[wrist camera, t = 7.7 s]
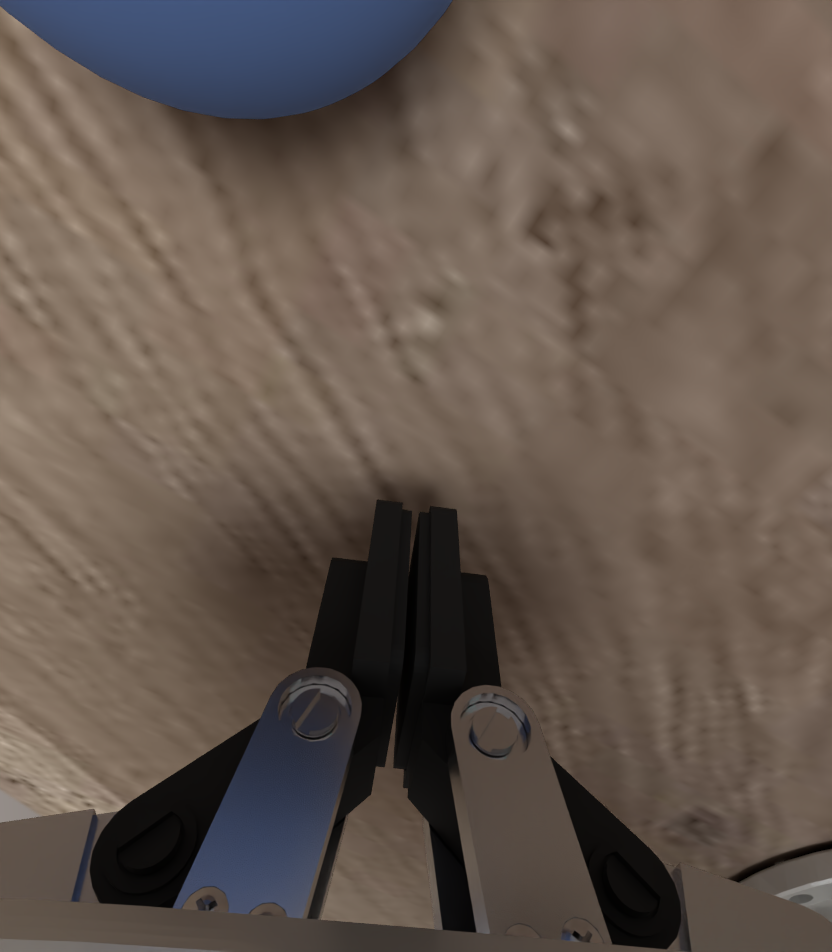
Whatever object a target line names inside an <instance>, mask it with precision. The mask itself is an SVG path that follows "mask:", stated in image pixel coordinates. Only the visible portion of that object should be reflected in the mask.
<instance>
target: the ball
mask: <svg viewBox="0 0 832 952" xmlns="http://www.w3.org/2000/svg"><path fill="white" fill-rule="evenodd" d="M451 2H452V0H0V6H1V7H2V8H3V9H4V10H5V11H7V12H8V13H9V14H10V15H12V16H13V17H14V18H16V19H17V20H18V21H19V22H21V23H22V24H23V25H25V26H26V27H27V28H29V29H30V30H31V31H33V32H34V33H35V34H37V35H38V36H39V37H41V38H42V39H43V40H44V41H46V42H47V43H48V44H50V45H51V46H52V47H54V48H55V49H56V50H58V51H60V52H61V53H63V54H64V55H66V56H68V57H69V58H71V59H73V60H74V61H76V62H77V63H79V64H81V65H82V66H84V67H86V68H87V69H89V70H90V71H92V72H94V73H95V74H97V75H99V76H100V77H102V78H104V79H106V80H108V81H110V82H112V83H115V84H117V85H119V86H121V87H123V88H125V89H127V90H129V91H131V92H134V93H136V94H138V95H140V96H142V97H144V98H147V99H150V100H153V101H156V102H159V103H162V104H165V105H168V106H171V107H174V108H177V109H180V110H184V111H189V112H194V113H200V114H205V115H210V116H216V117H221V118H237V119H269V118H276V117H283V116H289V115H295V114H301V113H306V112H310V111H313V110H316V109H319V108H322V107H325V106H328V105H330V104H333V103H335V102H337V101H339V100H342V99H344V98H346V97H348V96H350V95H352V94H354V93H356V92H358V91H360V90H361V89H363V88H365V87H366V86H368V85H370V84H371V83H373V82H374V81H376V80H377V79H378V78H380V77H381V76H382V75H384V74H385V73H386V72H387V71H389V70H390V69H391V68H392V67H393V66H394V65H396V64H397V63H398V62H399V61H400V60H402V59H403V58H404V57H405V56H406V55H407V54H409V53H410V52H411V51H412V50H413V49H414V48H415V47H416V46H417V45H418V43H419V42H420V41H421V40H422V39H423V38H424V36H425V35H426V34H427V33H428V32H429V31H430V29H431V28H432V27H433V26H434V25H435V24H436V22H437V21H438V20H439V19H440V18H441V17H442V15H443V14H444V13H445V11H446V10H447V8H448V7H449V5H450V4H451Z"/></svg>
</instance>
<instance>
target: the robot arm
mask: <svg viewBox="0 0 832 952" xmlns="http://www.w3.org/2000/svg"><path fill="white" fill-rule="evenodd" d="M411 519H412V511H409V510H402V503H400V502H392V501H384V500H377V503H376V510H375V517H374V524H373V530H372V537H371V544H370V551H369V557H368V562H366V561H357V560H349V559H340V558H332V560H331V564H330V567H329V572H328V576H327V580H326V585H325V589H324V593H323V597H322V602H321V606H320V610H319V615H318V619H317V623H316V627H315V632H314V636H313V640H312V645H311V649H310V653H309V657H308V662H307V666H306V669H302V670H300V671H297V672H295V673H293V674H291V675H289V676H288V677H286V678H285V679H284V680H283V681H282V682H280V683H279V684H278V686H277V687H276V689H275V690H274V692H273V693H272V695H271V696H270V699H269V701H268V703H267V705H266V707H265V709H264V712H263V714H262V716H261V718H260V719H259V720H257V721H255V722H254V723H252V724H251V725H249V726H248V727H246V728H245V729H243V730H241V731H240V732H238V733H237V734H235V735H234V736H232V737H231V738H229V739H227V740H226V741H224V742H223V743H221V744H220V745H218V746H217V747H215V748H213V749H212V750H210V751H209V752H207V753H206V754H204V755H203V756H201V757H199V758H198V759H196V760H195V761H193V762H192V763H190V764H189V765H187V766H185V767H184V768H182V769H181V770H179V771H178V772H176V773H175V774H173V775H171V776H170V777H168V778H167V779H165V780H164V781H162V782H161V783H159V784H157V785H156V786H154V787H153V788H151V789H150V790H148V791H147V792H145V793H143V794H142V795H140V796H139V797H137V798H136V799H134V800H133V801H131V802H130V803H129V804H127V805H126V806H125V807H124V808H122V809H121V810H120V811H118V812H111V813H105V814H98V815H96V813H95V810H94V809H90V810H83V811H76V812H70V813H63V814H56V815H49V816H43V817H36V818H29V819H22V820H16V821H9V822H2V823H0V952H832V849H829V850H824V851H819V852H815V853H811V854H808V855H804V856H801V857H797V858H794V859H791V860H787V861H784V862H781V863H779V864H776V865H774V866H771V867H769V868H766V869H764V870H761V871H759V872H757V873H755V874H753V875H751V876H749V877H748V878H746V879H744V880H742V881H740V882H738V883H737V882H735V881H732V880H729V879H726V878H723V877H720V876H717V875H715V874H712V873H709V872H706V871H703V870H700V869H697V868H695V867H692V866H689V865H686V864H683V863H679V864H678V865H677V866H676V867H673V866H670V865H668V864H665V863H662V862H661V861H660V859H659V858H658V857H657V856H656V855H655V854H654V853H653V852H652V850H651V849H650V848H649V847H648V846H646V845H645V844H644V843H643V842H642V841H641V840H640V839H639V838H638V837H637V836H636V835H635V834H633V833H632V832H631V831H630V830H629V829H628V828H627V827H626V826H625V825H624V824H623V823H622V822H621V821H619V820H618V819H617V818H616V817H615V816H614V815H613V814H612V813H611V812H610V811H609V810H608V809H607V808H605V807H604V806H603V805H602V804H601V803H600V802H599V801H598V800H597V799H596V798H595V797H594V796H593V795H591V794H590V793H589V792H588V791H587V790H586V789H585V788H584V787H583V786H582V785H581V784H580V783H578V782H577V781H576V780H575V779H574V778H573V777H572V776H571V775H570V774H569V773H568V772H567V771H566V770H564V769H563V768H562V767H561V766H560V765H559V764H558V763H557V762H556V761H555V760H554V759H553V758H552V757H550V755H549V752H548V749H547V746H546V743H545V740H544V736H543V733H542V730H541V727H540V724H539V722H538V720H537V718H536V716H535V714H534V712H533V710H532V709H531V708H530V707H529V706H528V704H527V703H526V702H525V701H524V700H523V699H522V698H520V697H519V696H517V695H516V694H515V693H513V692H512V691H509V690H507V689H504V688H501V681H500V673H499V665H498V657H497V649H496V641H495V632H494V624H493V616H492V608H491V600H490V591H489V584H488V579H487V577H486V575H478V574H469V573H461V571H460V555H459V539H458V523H457V510H456V509H449V508H441V507H433V506H431V507H430V509H429V513H425V512H420V513H419V517H418V523H417V529H416V535H415V541H414V547H413V553H412V559H411V565H410V571H409V556H410V537H411ZM408 575H409V577H408ZM397 696H398V698H397ZM396 702H397V714H396V731H395V747H394V768H398V769H404V782H403V788H408V798H409V800H410V801H411V802H412V803H413V804H414V806H415V807H416V808H417V809H418V810H419V812H420V813H421V814H422V815H423V834H424V842H425V851H426V859H427V867H428V875H429V884H430V892H431V900H432V908H433V917H434V925H435V929H425V928H413V927H400V926H388V925H376V924H364V923H352V922H340V921H328V920H321V917H322V914H323V910H324V906H325V902H326V899H327V895H328V891H329V887H330V884H331V880H332V876H333V872H334V868H335V865H336V861H337V857H338V853H339V850H340V846H341V842H342V838H343V835H344V831H345V827H346V823H347V819H348V814H349V813H350V812H351V811H352V810H353V809H354V808H356V807H357V806H358V805H359V804H360V803H361V802H363V801H364V800H365V799H366V798H367V797H368V796H369V795H371V791H372V785H373V779H374V773H375V767H376V766H378V767H385V762H386V756H387V751H388V745H389V740H390V734H391V729H392V724H393V718H394V713H395V707H396Z"/></svg>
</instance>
